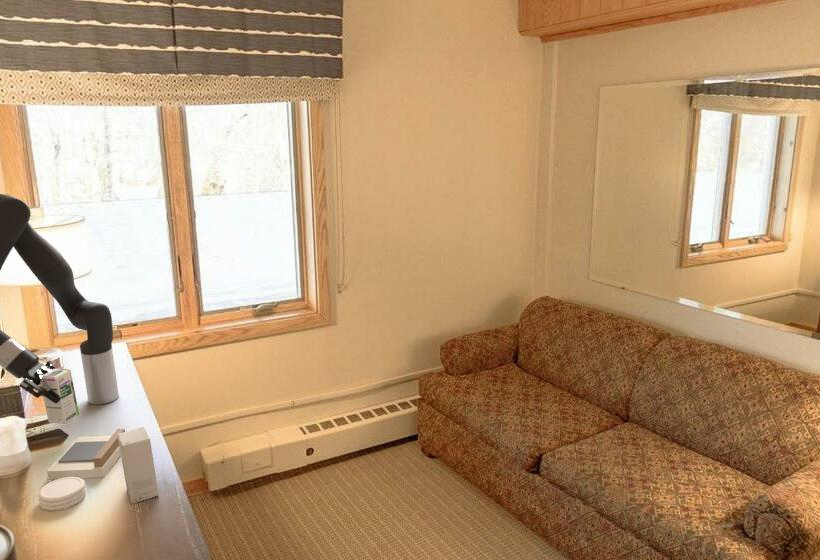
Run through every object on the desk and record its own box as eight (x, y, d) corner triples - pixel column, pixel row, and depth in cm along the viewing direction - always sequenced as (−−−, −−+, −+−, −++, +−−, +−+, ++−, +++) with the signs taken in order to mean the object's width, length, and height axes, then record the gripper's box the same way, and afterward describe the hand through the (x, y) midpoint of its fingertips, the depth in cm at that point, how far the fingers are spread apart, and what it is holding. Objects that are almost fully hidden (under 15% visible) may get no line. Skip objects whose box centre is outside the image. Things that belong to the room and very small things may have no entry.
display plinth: (80, 444, 181) (77, 428, 179) (130, 442, 181) (127, 427, 180) (48, 479, 163) (45, 462, 162) (104, 477, 164) (101, 460, 163)
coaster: (38, 516, 148) (36, 503, 148) (42, 494, 157) (39, 482, 156) (86, 505, 153) (84, 492, 152) (87, 484, 161) (84, 472, 160)
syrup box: (65, 424, 179) (56, 377, 175) (47, 422, 180) (38, 375, 176) (79, 415, 184) (71, 369, 180) (62, 413, 185) (53, 367, 181)
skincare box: (159, 496, 155) (151, 439, 151) (130, 505, 152) (121, 446, 148) (152, 480, 162) (145, 425, 158) (124, 489, 159) (116, 432, 155)
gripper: (8, 358, 169) (61, 397, 172) (36, 339, 183) (84, 375, 186) (-8, 378, 170) (44, 416, 174) (21, 357, 184) (69, 392, 188)
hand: (65, 395), depth 180 cm, fingers closed on syrup box, 6 cm apart
